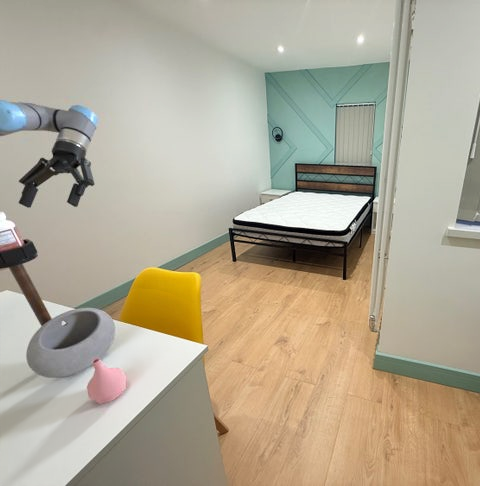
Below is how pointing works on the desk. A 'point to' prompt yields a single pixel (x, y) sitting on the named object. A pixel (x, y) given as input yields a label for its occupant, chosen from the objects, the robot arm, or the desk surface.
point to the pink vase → (105, 383)
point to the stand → (30, 293)
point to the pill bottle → (9, 235)
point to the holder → (18, 255)
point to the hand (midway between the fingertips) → (48, 205)
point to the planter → (70, 342)
